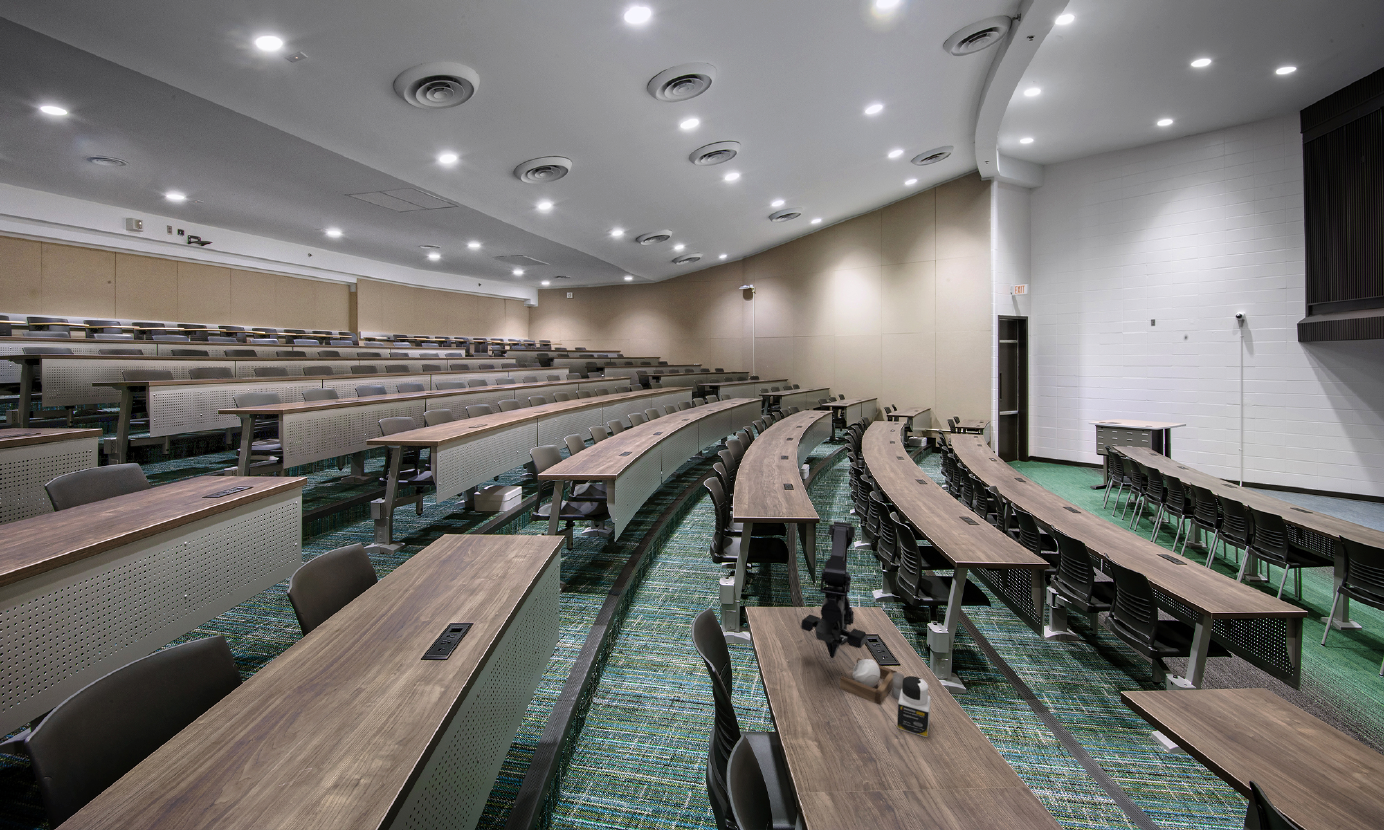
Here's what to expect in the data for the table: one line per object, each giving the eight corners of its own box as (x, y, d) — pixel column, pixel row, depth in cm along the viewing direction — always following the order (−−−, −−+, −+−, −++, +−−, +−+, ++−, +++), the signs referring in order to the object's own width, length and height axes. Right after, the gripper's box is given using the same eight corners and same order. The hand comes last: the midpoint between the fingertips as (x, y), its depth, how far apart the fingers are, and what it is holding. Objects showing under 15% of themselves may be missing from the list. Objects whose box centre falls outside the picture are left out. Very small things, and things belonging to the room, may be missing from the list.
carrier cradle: (858, 667, 162) (858, 648, 161) (910, 686, 152) (911, 666, 152) (839, 688, 151) (840, 668, 150) (895, 710, 141) (896, 689, 141)
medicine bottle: (896, 728, 134) (898, 683, 133) (900, 712, 140) (902, 669, 139) (927, 738, 131) (929, 692, 130) (929, 721, 137) (931, 677, 136)
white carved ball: (852, 674, 157) (853, 650, 157) (879, 680, 155) (880, 655, 154) (851, 690, 150) (852, 664, 149) (879, 696, 147) (880, 669, 147)
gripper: (793, 608, 157) (792, 658, 158) (854, 627, 146) (852, 681, 147) (809, 595, 166) (808, 643, 167) (868, 613, 154) (866, 663, 156)
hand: (832, 657), depth 159 cm, fingers closed
